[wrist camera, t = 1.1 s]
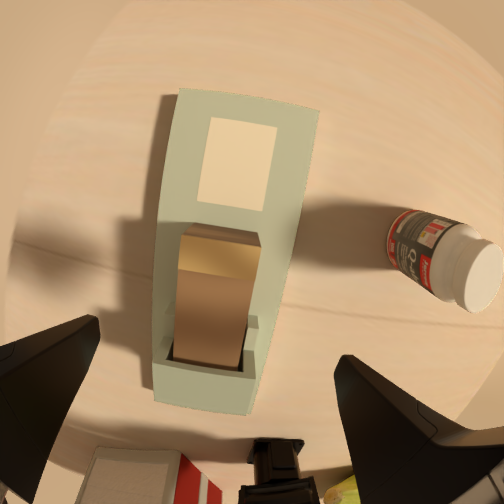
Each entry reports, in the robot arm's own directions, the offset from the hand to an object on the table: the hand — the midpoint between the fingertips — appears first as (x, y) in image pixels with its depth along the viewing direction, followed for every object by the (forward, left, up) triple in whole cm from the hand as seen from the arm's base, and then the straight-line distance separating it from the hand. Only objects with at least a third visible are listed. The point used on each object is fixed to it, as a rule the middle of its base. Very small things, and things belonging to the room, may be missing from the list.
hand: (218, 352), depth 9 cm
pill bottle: (+4, -15, -13) cm, 20 cm away
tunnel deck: (-2, +1, -13) cm, 13 cm away
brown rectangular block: (-4, +1, -11) cm, 12 cm away
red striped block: (-40, +7, -13) cm, 43 cm away
